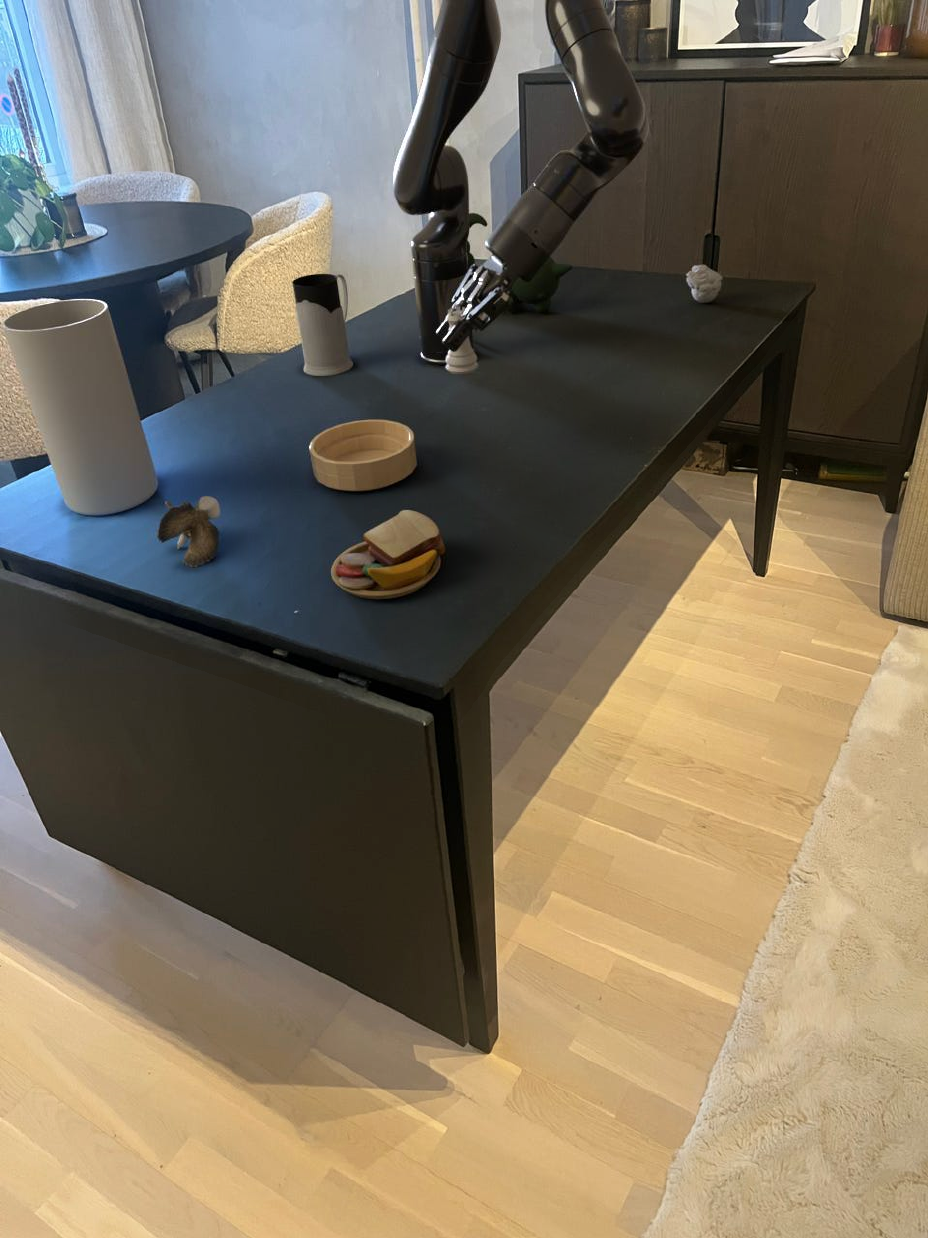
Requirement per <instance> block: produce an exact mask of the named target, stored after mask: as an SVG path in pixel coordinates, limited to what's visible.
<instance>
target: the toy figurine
mask: <svg viewBox="0 0 928 1238" xmlns="http://www.w3.org/2000/svg"><path fill="white" fill-rule="evenodd" d="M477 224H479V225H482V226H483V227H485V228H486V227H488V221H487V220H486V219H485V218H484V217H483V216H482V215H481V214H480V213H477V212H471V213H470V212H469V230H470V229H471V228H472V227H473V226H474V225H477ZM467 261H468V271H469V269H470V267H471V266H472V265H473V264H476V261H475V256H474V255H473V253H472V252H471V244H470V241H469V240H467ZM572 269H573V265H571V264H565V263H558V262H556V260H554V259H553V257H551V256H550V257H549V258H548V260H547V261H546V262H545V263H544V265H543V266H542V267H541V269H540V270H539V271H538V272H537V274H536V275H535V276H534V277H533V279H532V280H531V281H530V282H524V281H523V280H522V279H521V278H520V277H518V278H517V279H516V281H515V282H514V284H513V286H512V288H511V290H510V291H509V293H508V295H509V297H511V298H512V299H513V302H512V303H511V305H510V306H509V307H508V308H507V309H506V310H504V311H503V312H507V313H511V312H512V311H514V309H516V305H522V304H523V303H526V304H529V305H533V308H534V310H535V311H536V312H537V314H544V313H546V312H548V311H549V310H550V309H551V308H552V306H553V305H552V304H553V300H552V297H553V296H554V295H555V294H556V292H557V290H558V288H559V285H560V279H561V278H562V277H563V276H565V275H566V274H567V273H568V272H570V271H571V270H572Z"/></svg>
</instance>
